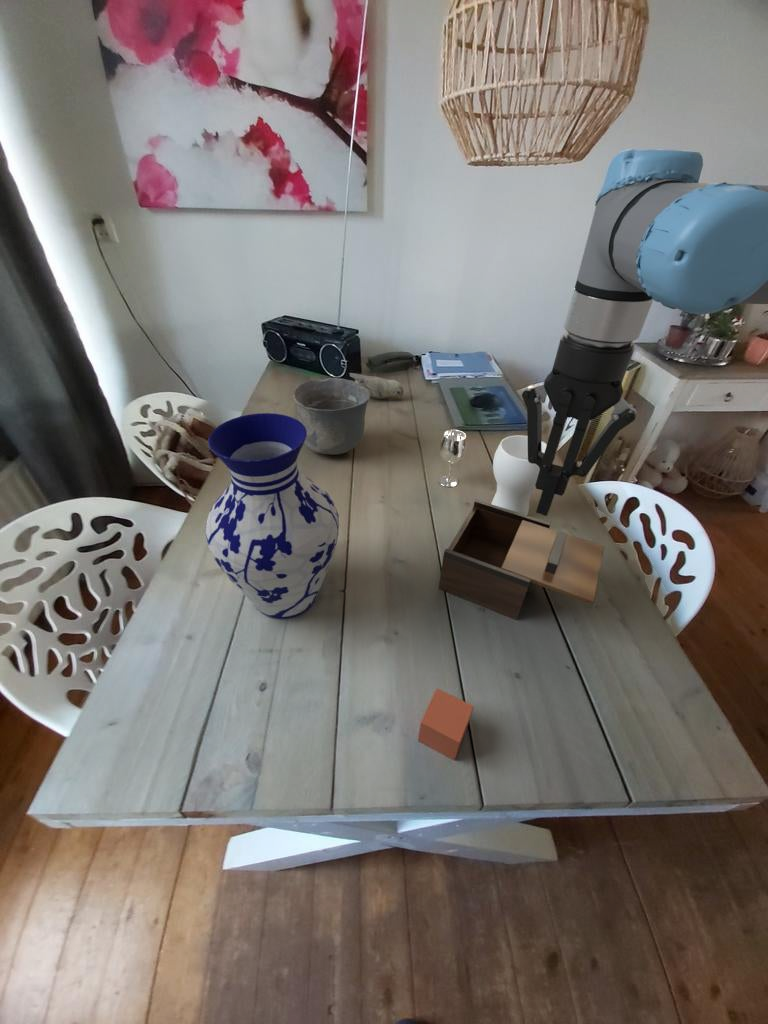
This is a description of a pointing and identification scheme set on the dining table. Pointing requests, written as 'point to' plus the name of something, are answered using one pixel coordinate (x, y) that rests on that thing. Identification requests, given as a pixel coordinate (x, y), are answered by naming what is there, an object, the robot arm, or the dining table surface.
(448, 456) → the wineglass
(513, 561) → the sliding lid
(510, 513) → the box
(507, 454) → the cup
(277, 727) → the dining table surface
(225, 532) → the vase
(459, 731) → the block
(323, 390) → the bowl
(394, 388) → the decorative bird
